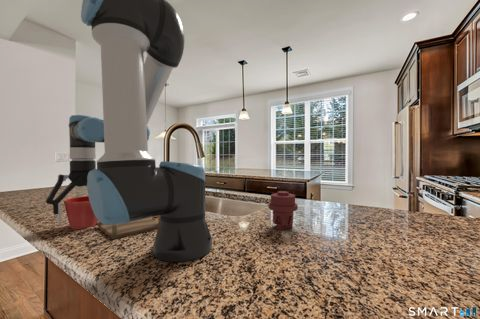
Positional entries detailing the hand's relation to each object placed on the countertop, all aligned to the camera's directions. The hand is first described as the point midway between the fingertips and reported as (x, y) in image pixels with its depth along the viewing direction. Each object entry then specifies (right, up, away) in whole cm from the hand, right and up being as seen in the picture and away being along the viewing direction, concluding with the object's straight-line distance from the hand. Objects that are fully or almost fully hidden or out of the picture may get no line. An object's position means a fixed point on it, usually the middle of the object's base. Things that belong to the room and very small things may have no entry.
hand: (83, 219), depth 79 cm
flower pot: (0, -3, 0) cm, 2 cm away
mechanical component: (+71, -2, -2) cm, 71 cm away
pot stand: (+18, -2, -2) cm, 18 cm away
